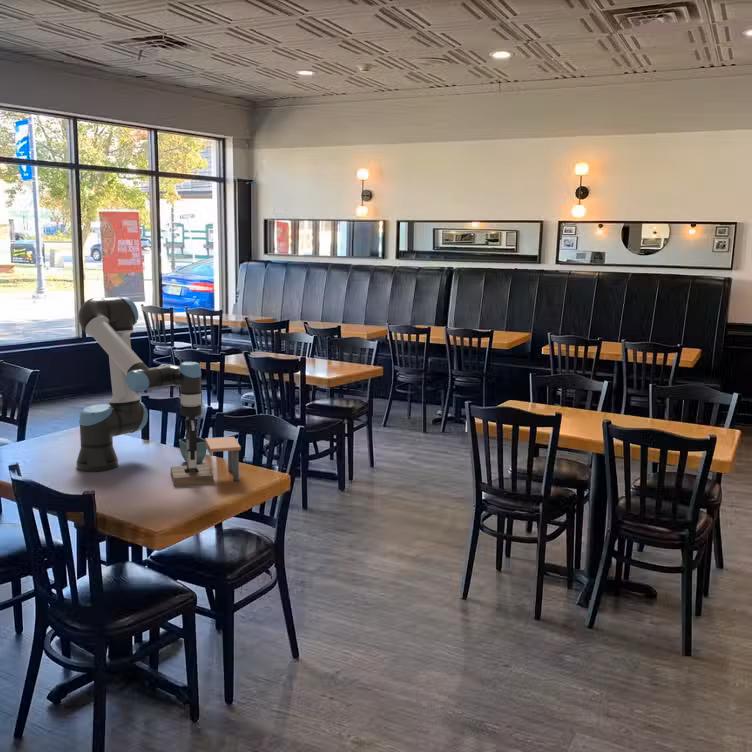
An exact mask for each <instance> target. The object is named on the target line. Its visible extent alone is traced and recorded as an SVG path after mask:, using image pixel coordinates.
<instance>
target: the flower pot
mask: <svg viewBox="0 0 752 752" xmlns="http://www.w3.org/2000/svg"><path fill="white" fill-rule="evenodd" d="M178 445H179V450H180V454H181V456H182V459H183V460H184V462H186V463H187V448H186V438H180V439H178ZM207 451H208V450H207V448H206V446H205V438H202V437H200V436H197V464H199V463H202V462H203V461H204V459H205V457H206V454H207Z"/></svg>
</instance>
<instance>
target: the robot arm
mask: <svg viewBox="0 0 752 752" xmlns="http://www.w3.org/2000/svg"><path fill="white" fill-rule="evenodd" d="M77 317H78V322H79V326H80V327H81V329H82V331H83V332H84V333H85V334H86V335H87V336H88V337H91V338H93V339H94V340H95V341H96V342H97V344H99V346H100V347H101V348H102V349H103V350H104V352H105V353H106V354H107V355H108V359H109V360H108V362H109V370H110V381H111V390H112V392H111V393H112V397H111V399H110V400H109V402H108V403H109V404H108V403H107V404H106V403H99V404H92V405H88V406H85V407H84V408H83V409H81V411H80V412H79V421H78V423H79V432H80V433H79V435H80V436H79V437H80V448H79V452H78V455H77V458H76V469H77V470H80V471H81V472H82V471H83V472H104V471H108V470H112V469H115V468H116V467H118V466H119V459H118V456H117V453H116V451H115V448H114V445H113V443H114V439H113V437H118V436H121V435H125V434H132V433H133V434H134V433H135V432H139V431H141V430H143V428H145V426H146V424H147V422H148V418H149V417H148V416H149V414H148V409H147V407H146V405H145V404H144V402H141V398H140V397H139V396H138V395H137V394H136V392H142V391H147V390H151V389H159V388H164V387H171V386H174V387H179V390H180V391H179V394H180V395H179V396H178V399H180V404H181V405H180V408H179V409H180V411H179V413H180V415H181V416H182V417H184V418H185V417H186V418H185V419H184V420H185V421H184V423H185V430H186V431H185V432H186V435H185V436H186V438H185V439H186V440H187V439H189V450H187V452H188V460H189V468H196V451H197V437H198V436H197V433H198V432H197V428H198V420H197V419H196V417H199V416H201V415H202V370H201V369H202V368H201V364H200V363H199V362H196V361H183V362H180V364H179V365H176V364H171V363H161V364H160V365H159V366H156V367H148V366H147V365H146V363H144V361H143V360H142V359H141V358H140V357H139V356H138V355H137V353H136V352H135V351H134V350H133V349H132V345H131V343H132V342H131V334H132V333H133V332H134V325H136V324H137V323H138V320H139V310H138V308H137V305H136V304H135V302H134V301H133V300H132V299H131V298H129V297H127V296H111V297H110V296H109V297H93V298H90V299H88V300H86V301H85V302H84V303H82V305H81V306H80V308H79V310H78V316H77Z"/></svg>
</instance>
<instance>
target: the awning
mask: <svg viewBox="0 0 752 752" xmlns="http://www.w3.org/2000/svg"><path fill="white" fill-rule="evenodd" d="M204 440H205V446H206V448H207V450H206V451H207V453H209V457H213V456H214V455H213V454H214V453H215V452H216V453H217V452H227V471H228V472H232V473H233V474H232V476H233V479H232V480H233V482H238V481H239V480H240V477H239V476H240V474H239V473H240V471H239V470H240V467H239V465H240V463H239V461H240V460H239V458H240V456H239V455H240V454H239V453H240V451H241V450H242V449H241V448H242V446H241V445H240V444H239V442H238V440H237V438H235V436H225V437H224V436H223V437H222V436H221V437H220V436H219V437H205V438H204Z"/></svg>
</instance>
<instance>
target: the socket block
mask: <svg viewBox="0 0 752 752" xmlns="http://www.w3.org/2000/svg"><path fill="white" fill-rule="evenodd" d="M170 477H171V480H172V483H173V487H177V486H189V485H203V484H213V483H214V474H213V472H212V469H211V467H210V465H209V463H205V464H197V471H196V472H192V473H190V472H187V465H177V466H176V465H175V466H170Z"/></svg>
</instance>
